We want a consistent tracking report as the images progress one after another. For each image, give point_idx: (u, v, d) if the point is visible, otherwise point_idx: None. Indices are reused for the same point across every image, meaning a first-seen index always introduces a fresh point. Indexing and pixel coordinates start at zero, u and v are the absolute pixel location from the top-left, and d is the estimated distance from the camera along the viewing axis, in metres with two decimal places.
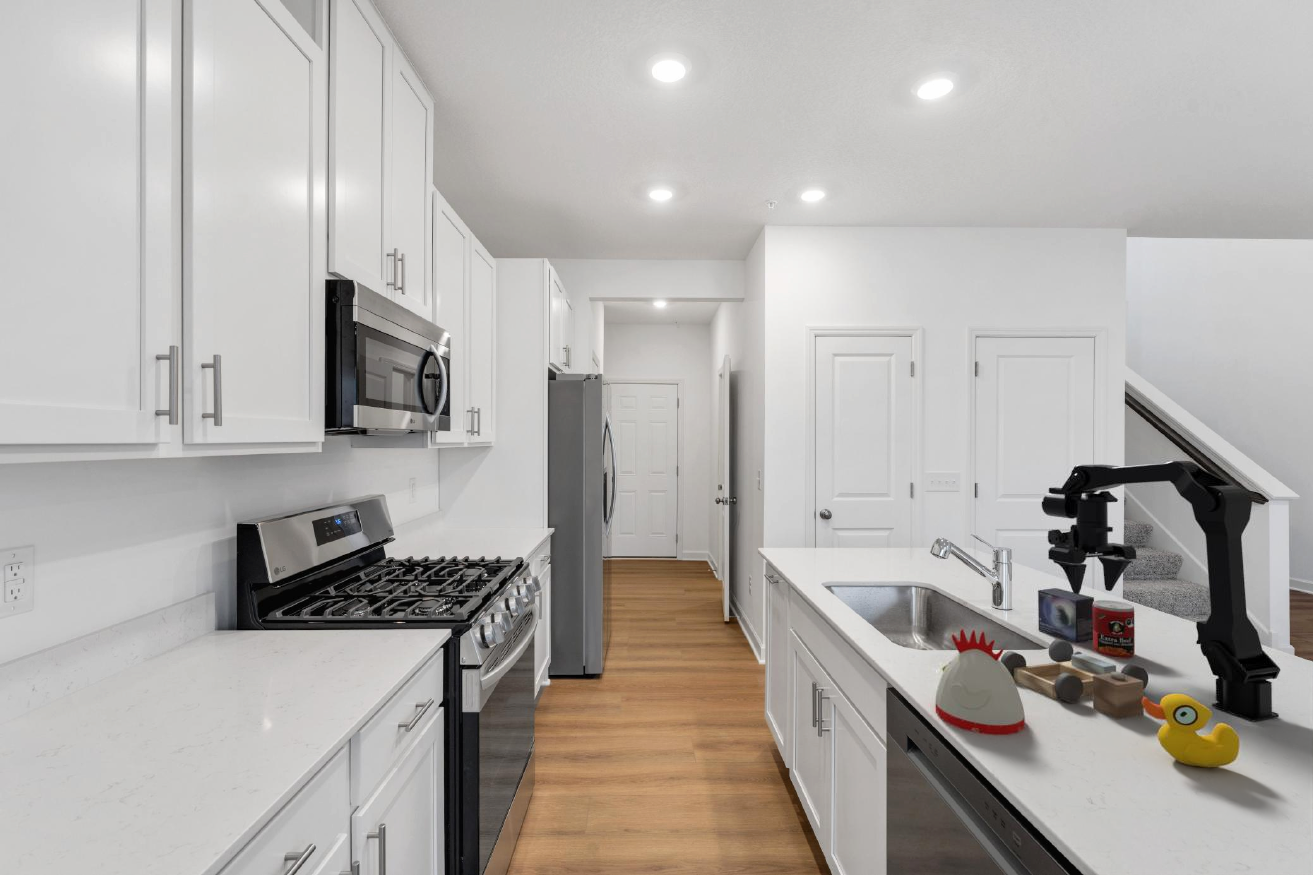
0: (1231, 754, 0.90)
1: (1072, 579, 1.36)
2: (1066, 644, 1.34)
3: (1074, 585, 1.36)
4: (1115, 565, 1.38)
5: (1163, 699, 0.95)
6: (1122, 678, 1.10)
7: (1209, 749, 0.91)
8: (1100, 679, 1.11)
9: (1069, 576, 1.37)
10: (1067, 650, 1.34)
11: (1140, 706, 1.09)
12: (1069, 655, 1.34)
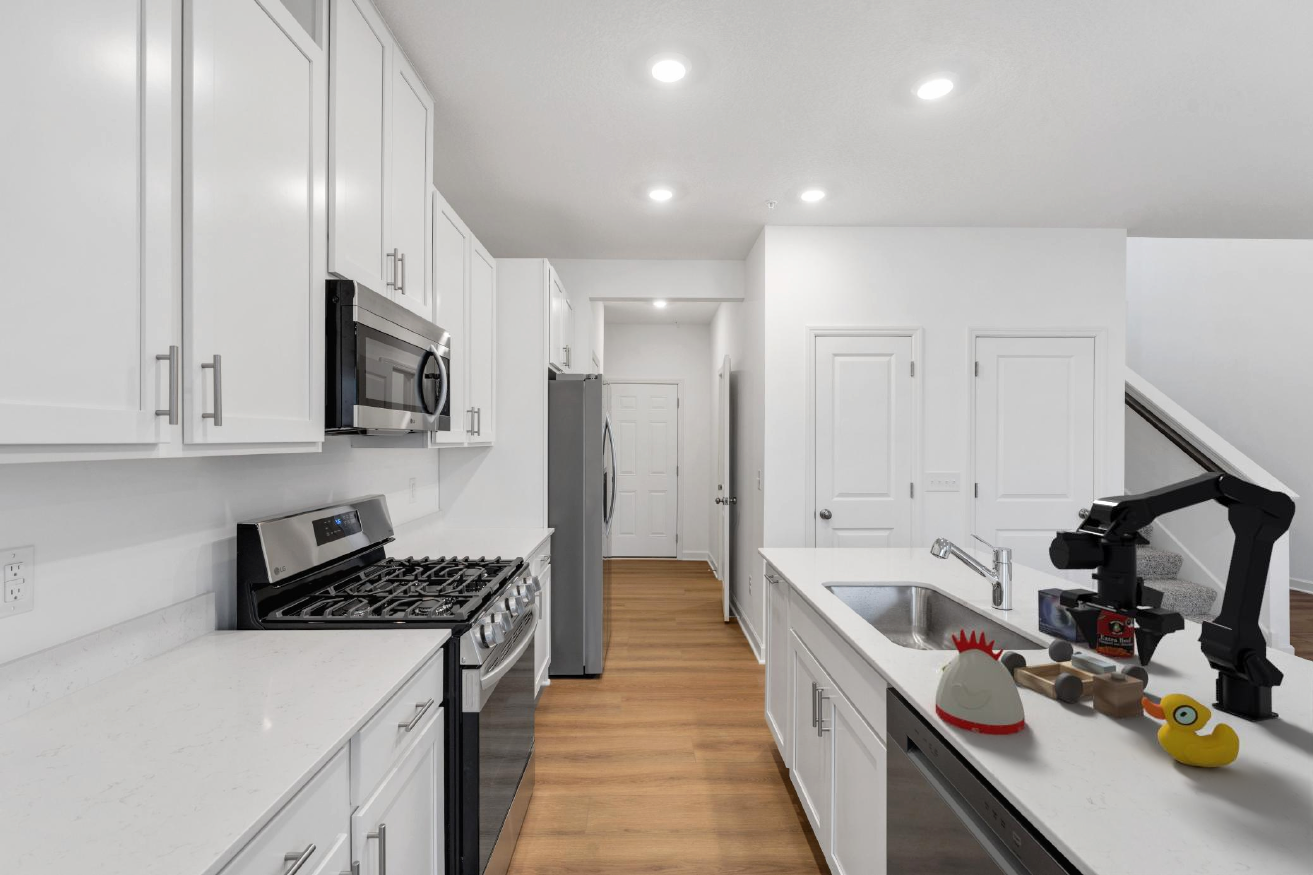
0: (1231, 754, 0.90)
1: None
2: (1066, 644, 1.34)
3: None
4: None
5: (1163, 699, 0.95)
6: (1122, 678, 1.10)
7: (1209, 749, 0.91)
8: (1100, 679, 1.11)
9: None
10: (1067, 650, 1.34)
11: (1140, 706, 1.09)
12: (1069, 655, 1.34)
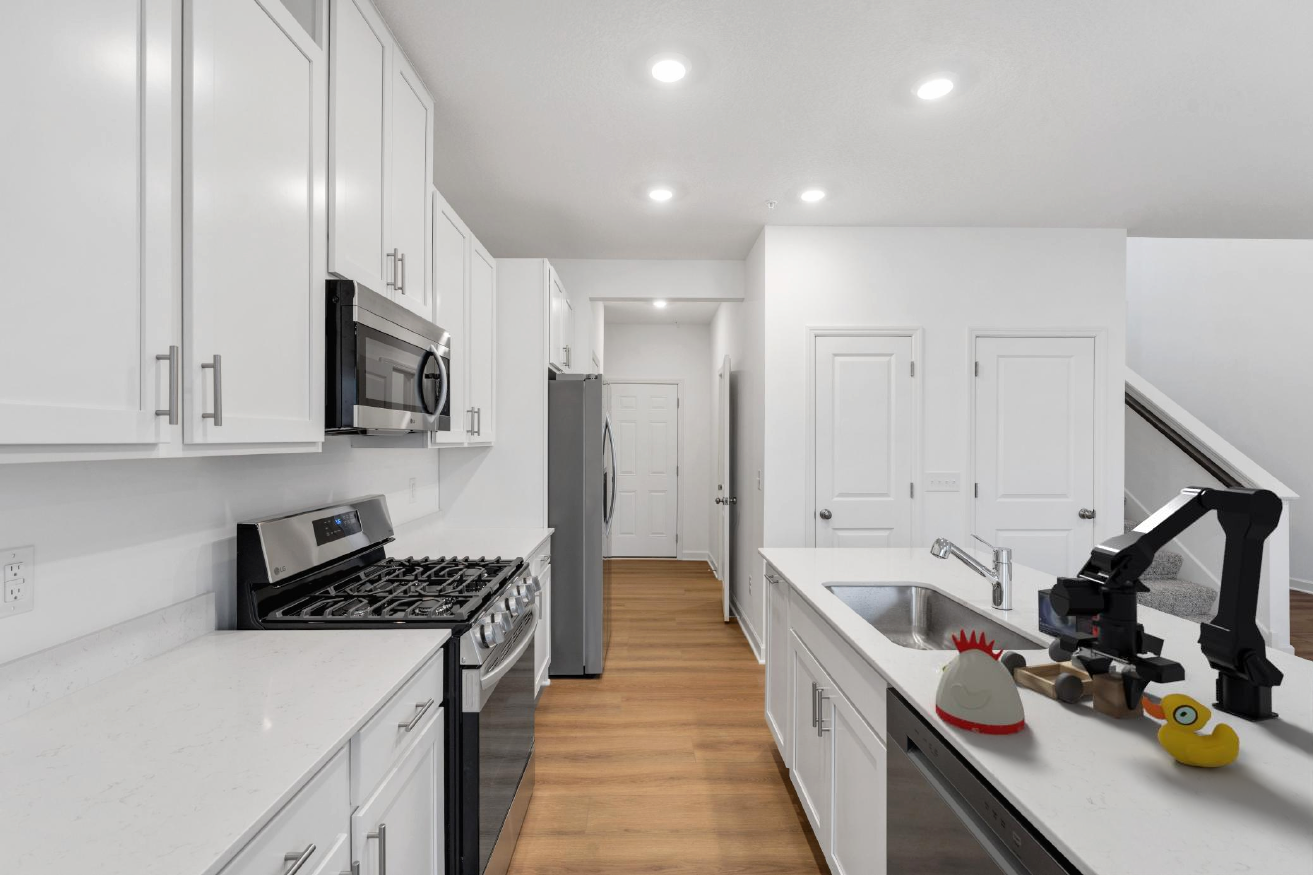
0: (1231, 754, 0.90)
1: None
2: None
3: None
4: None
5: (1163, 699, 0.95)
6: None
7: (1209, 749, 0.91)
8: (1100, 678, 1.11)
9: None
10: None
11: (1140, 706, 1.09)
12: (1069, 655, 1.34)
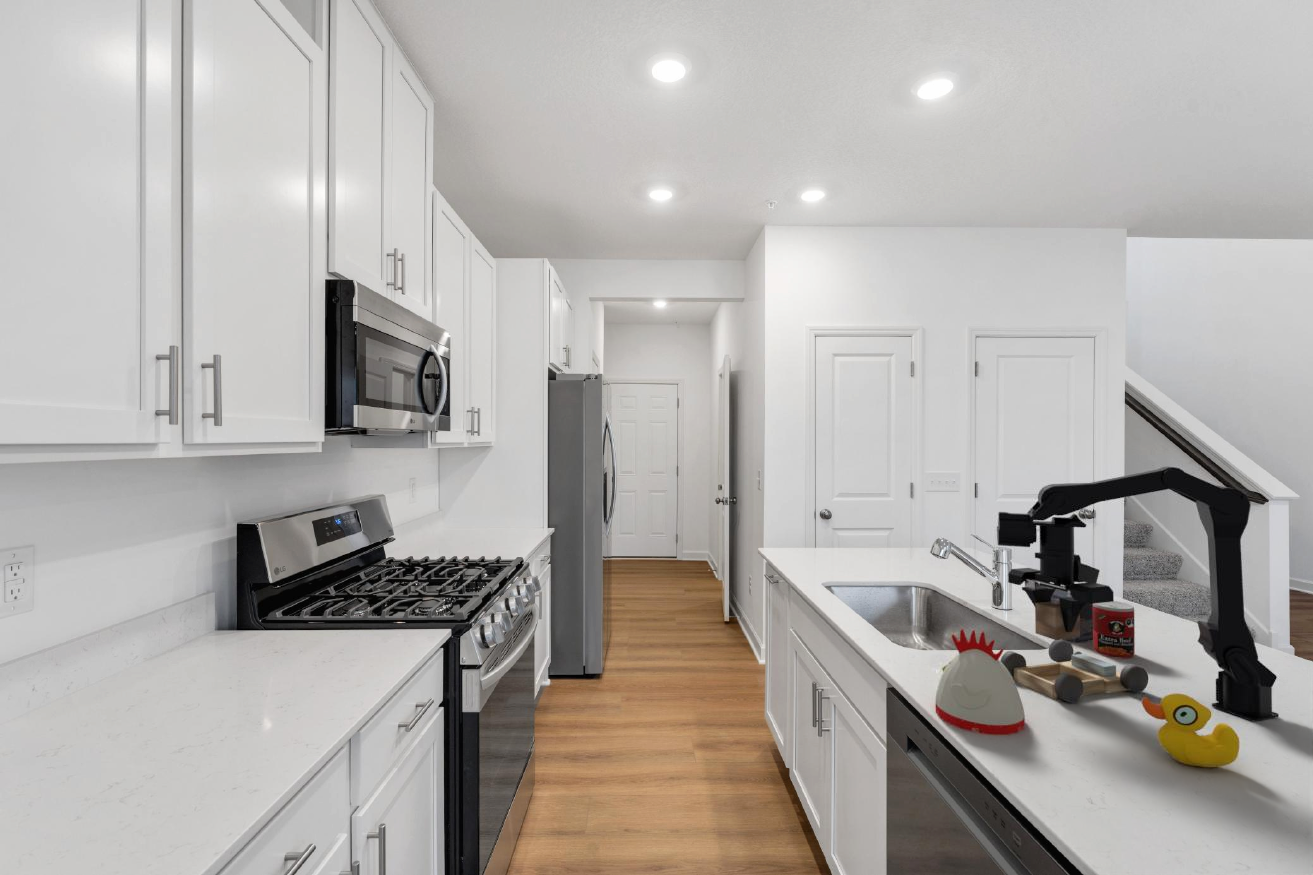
0: (1231, 754, 0.90)
1: None
2: (1066, 644, 1.34)
3: None
4: None
5: (1163, 699, 0.95)
6: None
7: (1209, 749, 0.91)
8: (1041, 605, 1.22)
9: None
10: (1067, 650, 1.34)
11: (1077, 629, 1.21)
12: (1069, 655, 1.34)
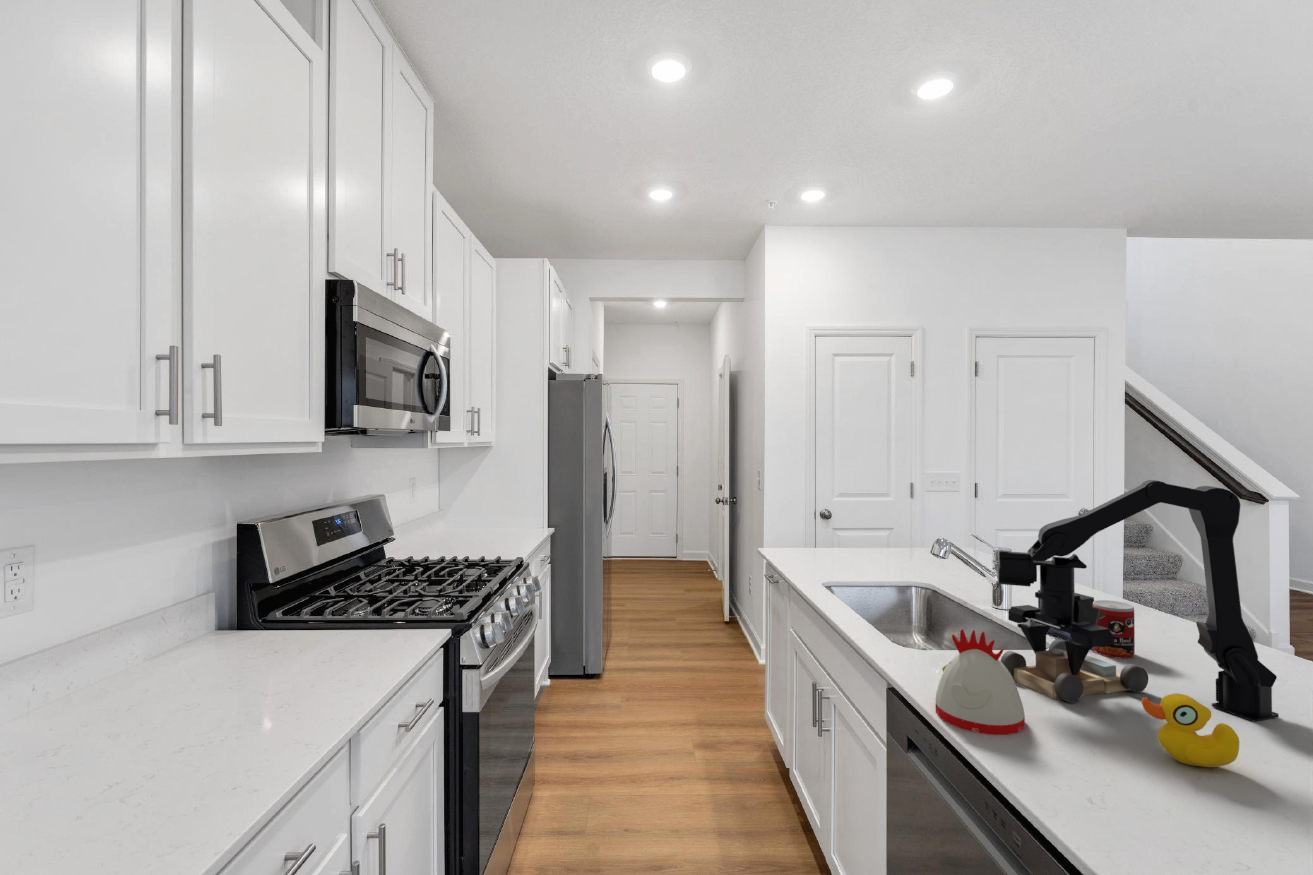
0: (1231, 754, 0.90)
1: None
2: None
3: None
4: None
5: (1163, 699, 0.95)
6: (1061, 654, 1.21)
7: (1209, 749, 0.91)
8: (1042, 655, 1.22)
9: None
10: None
11: None
12: None
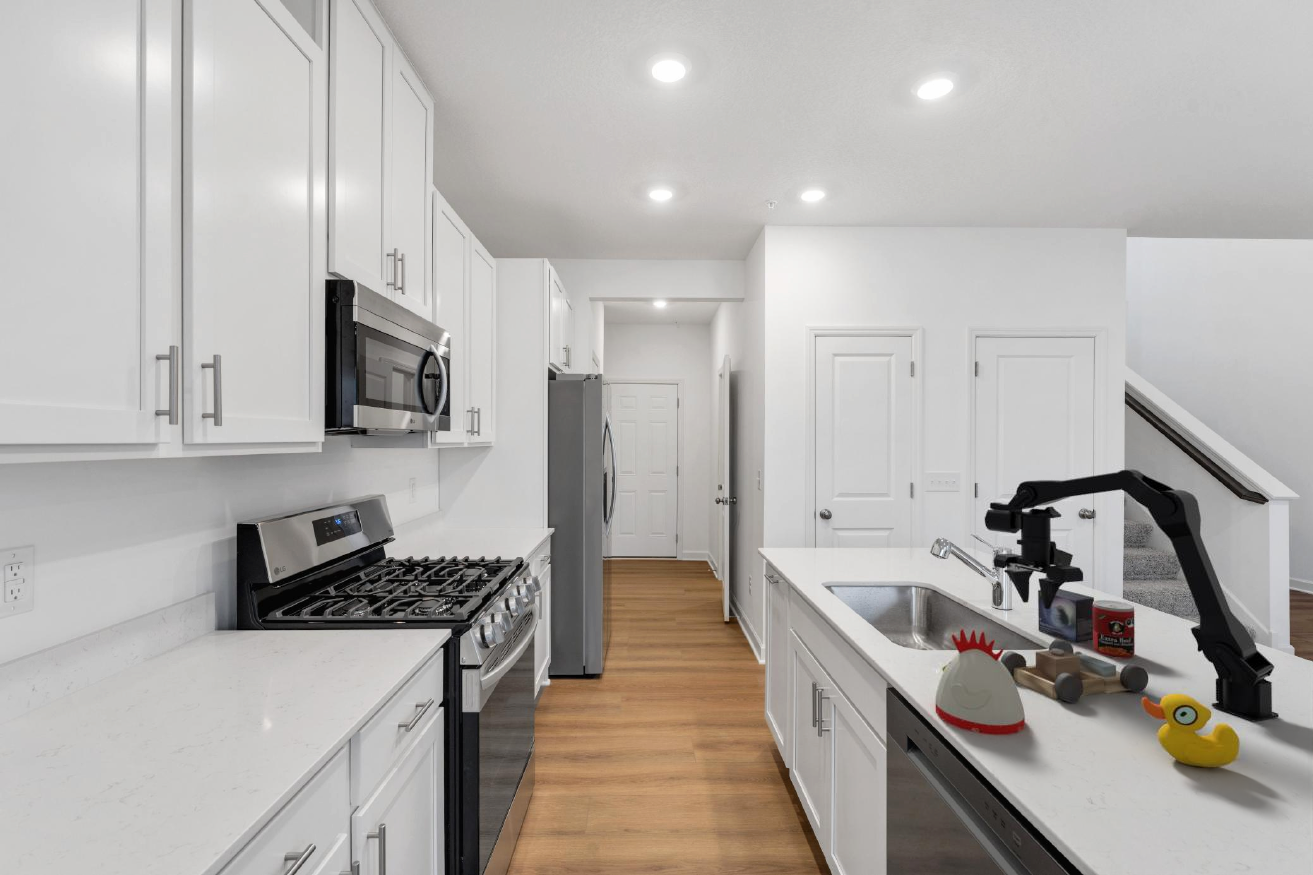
0: (1231, 754, 0.90)
1: None
2: (1066, 644, 1.34)
3: None
4: None
5: (1163, 699, 0.95)
6: (1061, 654, 1.21)
7: (1209, 749, 0.91)
8: (1042, 655, 1.22)
9: None
10: (1067, 650, 1.34)
11: None
12: None
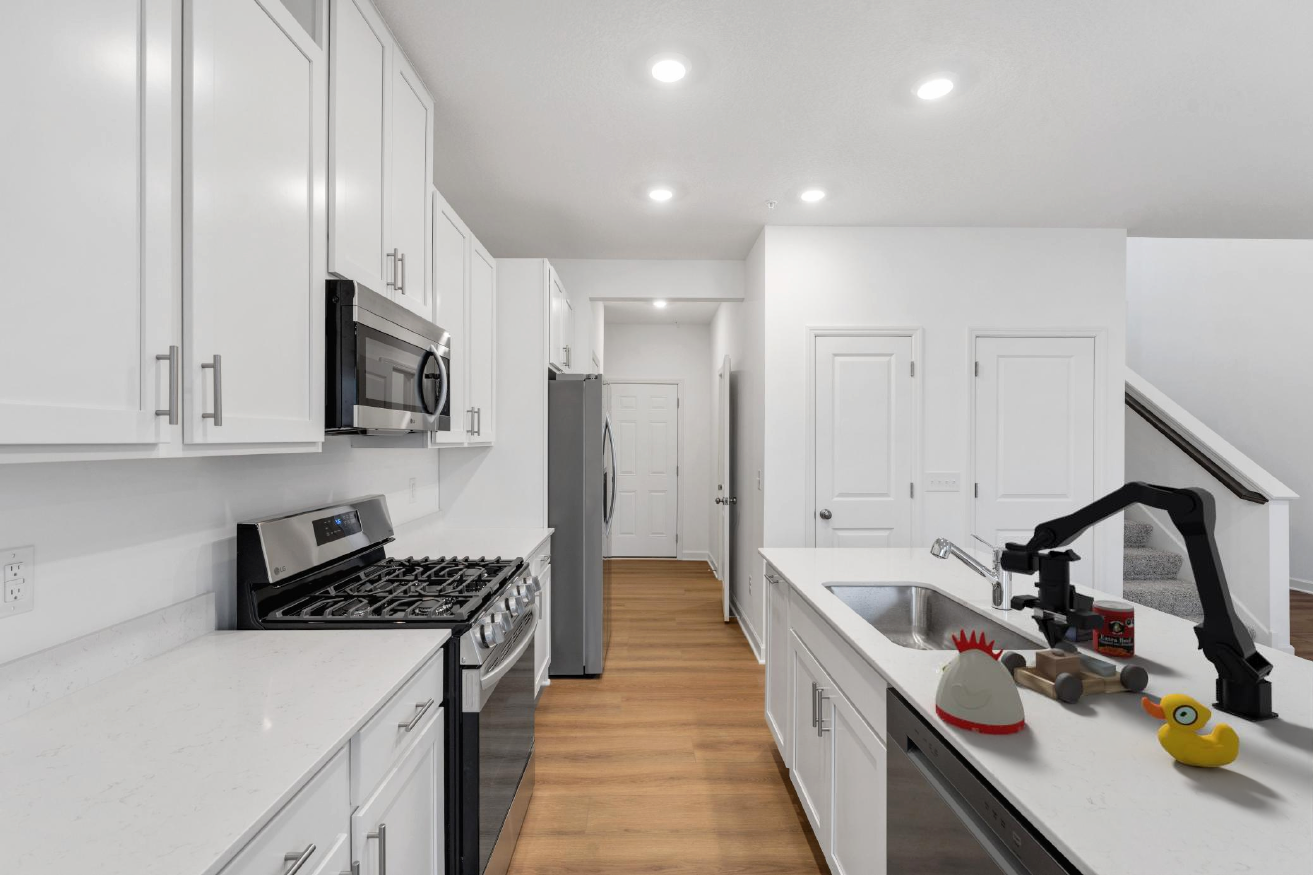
0: (1231, 754, 0.90)
1: None
2: (1071, 645, 1.33)
3: None
4: None
5: (1163, 699, 0.95)
6: (1061, 654, 1.21)
7: (1209, 749, 0.91)
8: (1042, 655, 1.22)
9: None
10: (1071, 652, 1.33)
11: None
12: None
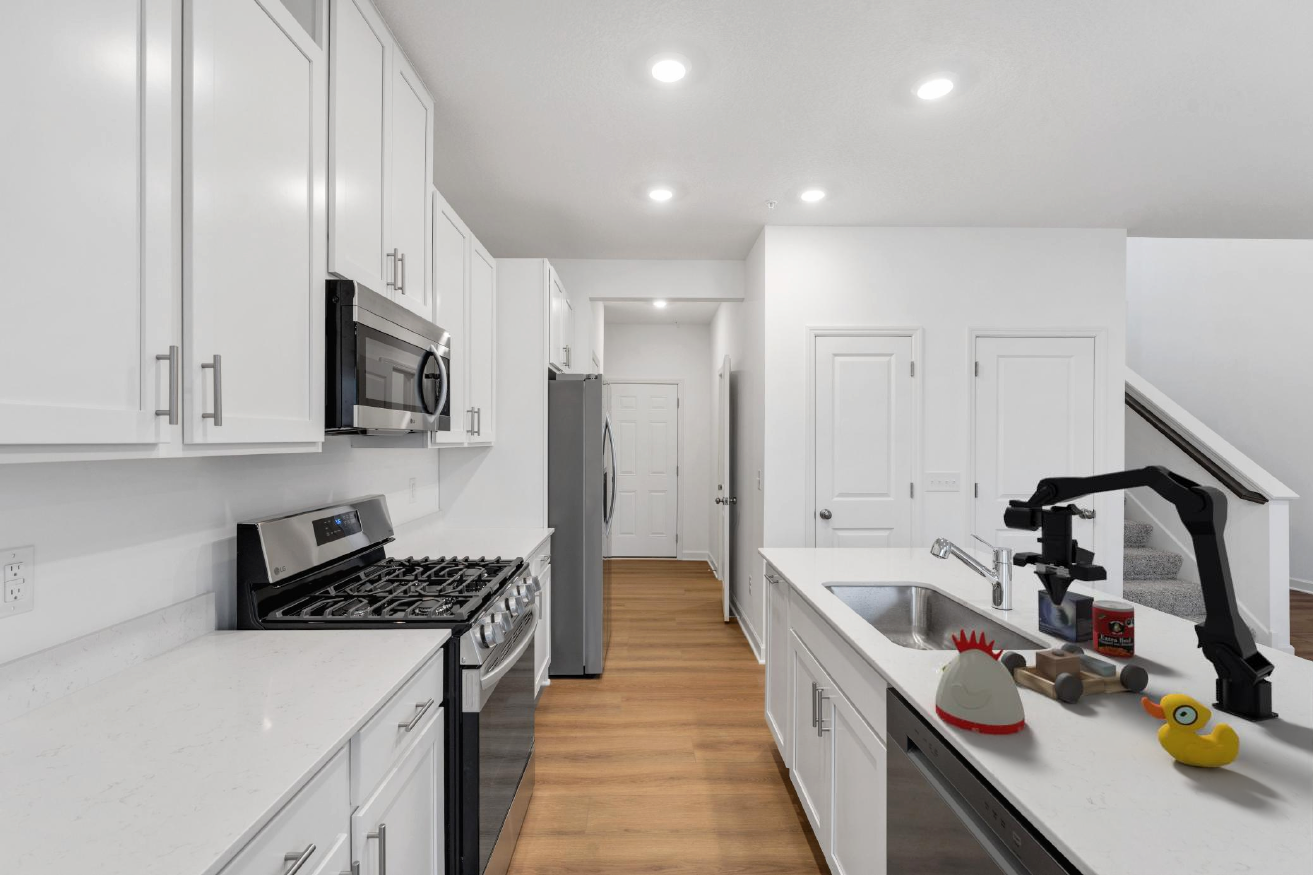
0: (1231, 754, 0.90)
1: None
2: (1077, 647, 1.31)
3: None
4: None
5: (1163, 699, 0.95)
6: (1061, 654, 1.21)
7: (1209, 749, 0.91)
8: (1042, 655, 1.22)
9: None
10: None
11: None
12: None
